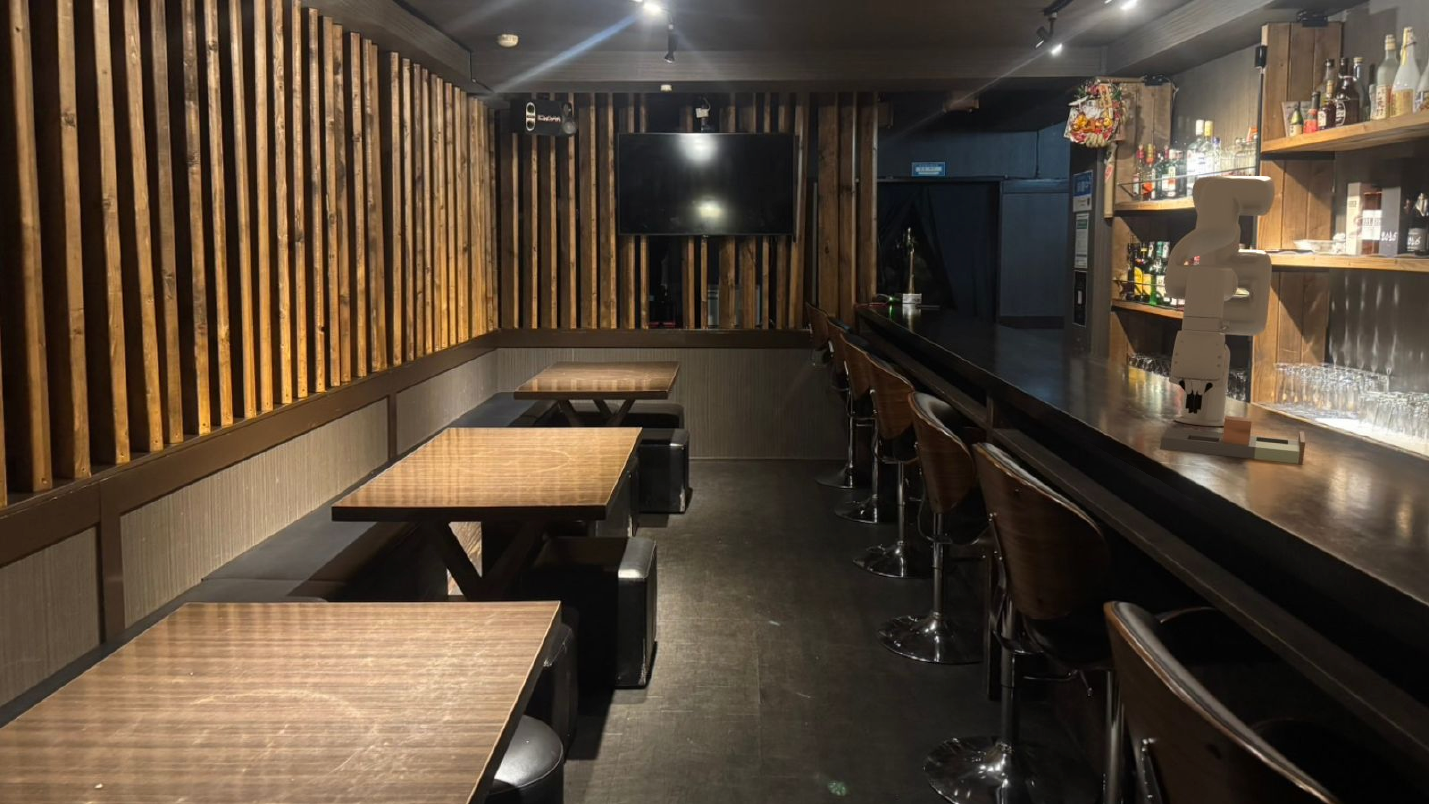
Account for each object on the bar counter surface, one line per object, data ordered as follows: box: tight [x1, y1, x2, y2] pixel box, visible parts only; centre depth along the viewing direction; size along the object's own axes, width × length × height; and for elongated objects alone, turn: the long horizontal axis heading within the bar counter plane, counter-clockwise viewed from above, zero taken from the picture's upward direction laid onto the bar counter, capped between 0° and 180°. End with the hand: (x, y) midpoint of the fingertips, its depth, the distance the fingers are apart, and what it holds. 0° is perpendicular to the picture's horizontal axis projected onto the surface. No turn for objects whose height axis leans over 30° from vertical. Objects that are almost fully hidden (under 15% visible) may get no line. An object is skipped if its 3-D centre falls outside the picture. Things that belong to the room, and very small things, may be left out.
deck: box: [1159, 427, 1306, 465], centre depth 235 cm, size 15×27×4 cm, turn 63°
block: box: [1222, 415, 1253, 445], centre depth 231 cm, size 5×5×5 cm
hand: (1192, 412), depth 234 cm, fingers closed
